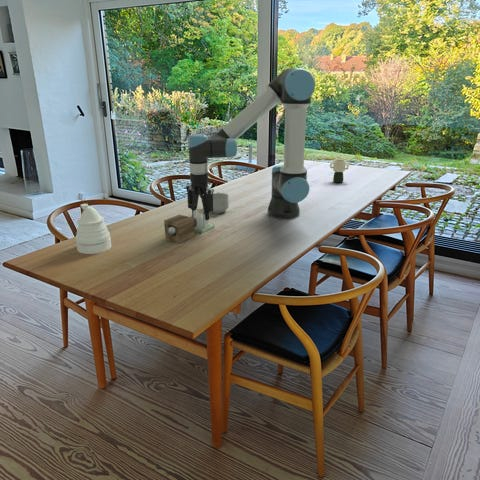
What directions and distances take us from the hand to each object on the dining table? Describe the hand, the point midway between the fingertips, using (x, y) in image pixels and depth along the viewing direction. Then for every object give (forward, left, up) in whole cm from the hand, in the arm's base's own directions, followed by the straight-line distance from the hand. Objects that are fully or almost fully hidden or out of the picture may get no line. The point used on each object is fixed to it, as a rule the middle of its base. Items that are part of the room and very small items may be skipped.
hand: (201, 225), depth 195 cm
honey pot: (+21, +40, -2) cm, 45 cm away
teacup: (+10, -25, -2) cm, 27 cm away
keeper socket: (0, 0, -2) cm, 2 cm away
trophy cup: (-15, -110, -2) cm, 111 cm away
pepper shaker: (0, 0, -2) cm, 2 cm away
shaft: (0, +12, +1) cm, 12 cm away
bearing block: (0, +13, -2) cm, 14 cm away
